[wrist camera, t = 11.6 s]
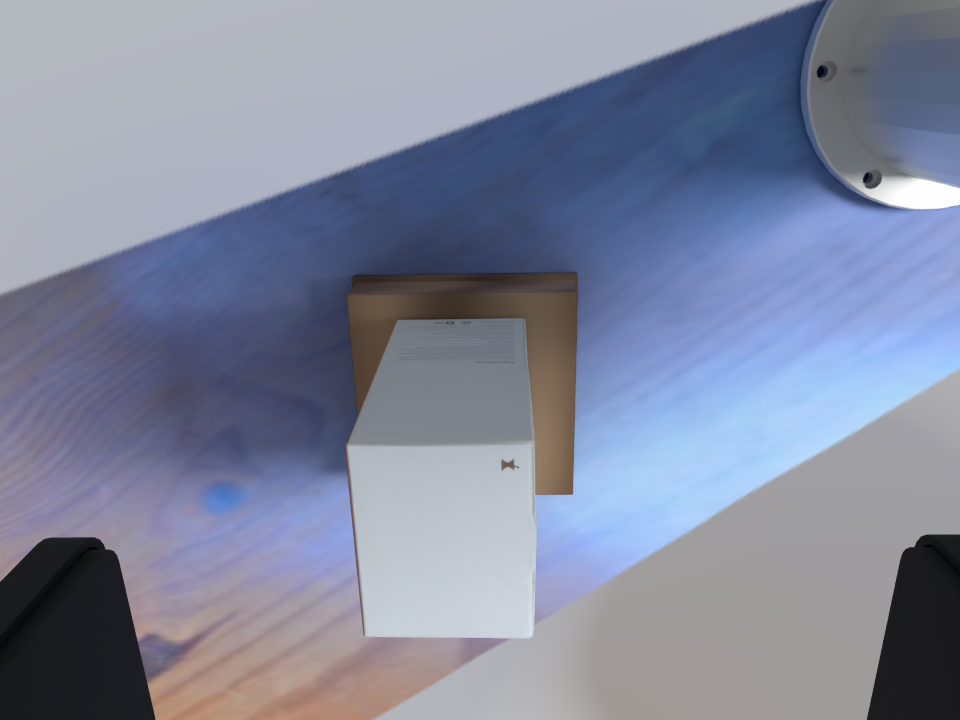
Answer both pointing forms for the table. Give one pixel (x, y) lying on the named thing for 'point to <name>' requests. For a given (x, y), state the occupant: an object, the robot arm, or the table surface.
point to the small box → (446, 483)
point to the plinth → (486, 297)
